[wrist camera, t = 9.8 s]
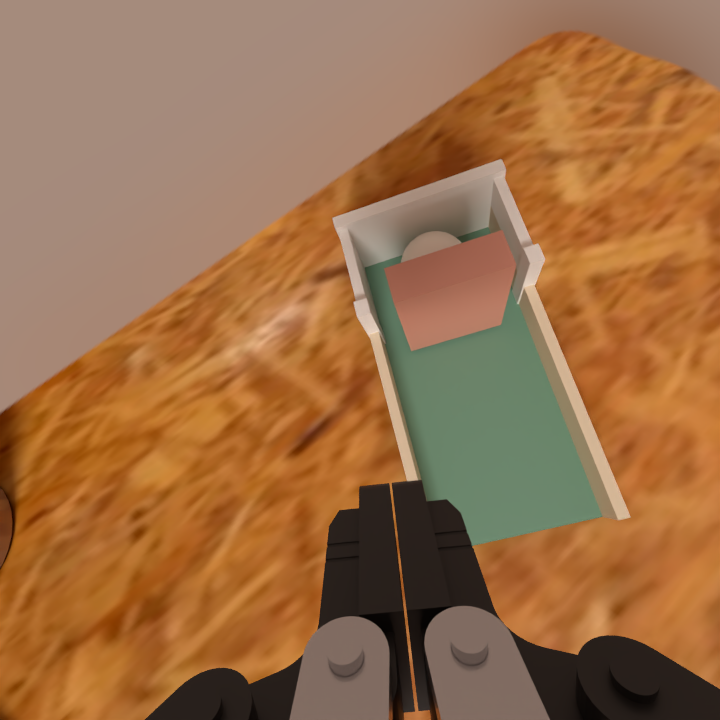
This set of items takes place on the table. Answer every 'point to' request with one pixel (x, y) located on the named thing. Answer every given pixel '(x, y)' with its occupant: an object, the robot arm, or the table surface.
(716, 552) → the table surface
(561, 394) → the pitch
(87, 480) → the table surface
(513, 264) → the block
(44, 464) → the table surface
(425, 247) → the ball
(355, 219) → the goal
